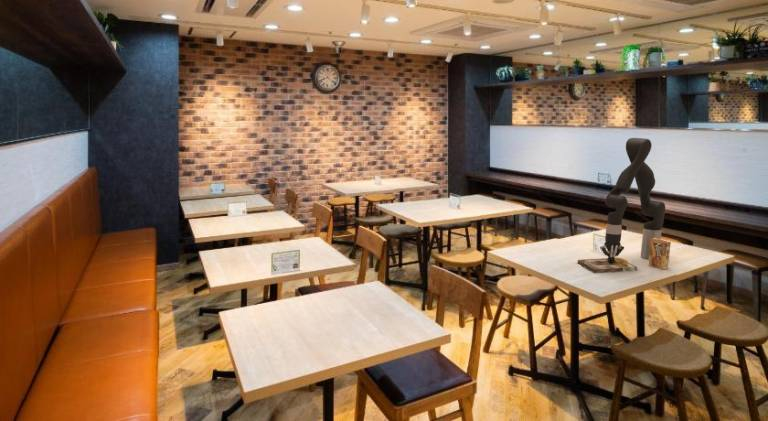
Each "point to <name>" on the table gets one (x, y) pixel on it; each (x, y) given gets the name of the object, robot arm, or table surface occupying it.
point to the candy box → (659, 253)
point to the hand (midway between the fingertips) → (610, 263)
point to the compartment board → (604, 266)
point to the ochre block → (620, 261)
